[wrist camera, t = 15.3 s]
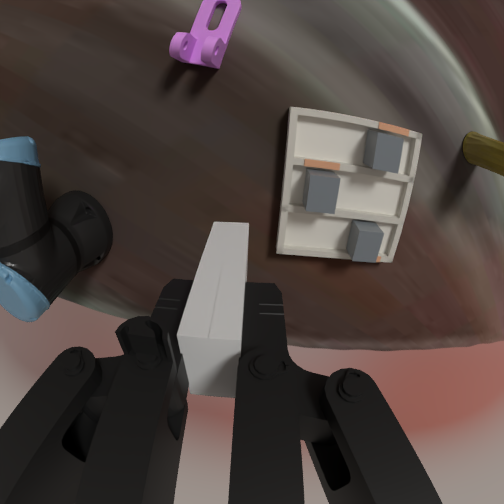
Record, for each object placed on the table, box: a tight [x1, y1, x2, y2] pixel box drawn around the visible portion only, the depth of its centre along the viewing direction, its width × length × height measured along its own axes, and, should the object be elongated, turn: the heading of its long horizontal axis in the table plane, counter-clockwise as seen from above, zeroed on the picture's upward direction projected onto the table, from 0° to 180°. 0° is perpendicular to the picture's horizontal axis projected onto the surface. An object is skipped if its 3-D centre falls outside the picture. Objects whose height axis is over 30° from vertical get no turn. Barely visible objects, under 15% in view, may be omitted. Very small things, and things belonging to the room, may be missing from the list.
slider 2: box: [363, 130, 404, 174], centre depth 32 cm, size 4×5×4 cm
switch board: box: [276, 107, 422, 263], centre depth 38 cm, size 20×22×3 cm
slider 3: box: [346, 220, 384, 263], centre depth 39 cm, size 4×5×4 cm
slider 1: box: [302, 168, 341, 214], centre depth 36 cm, size 4×5×4 cm
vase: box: [463, 132, 504, 176], centre depth 26 cm, size 6×6×14 cm
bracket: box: [169, 0, 241, 69], centre depth 25 cm, size 13×6×7 cm, turn 163°
